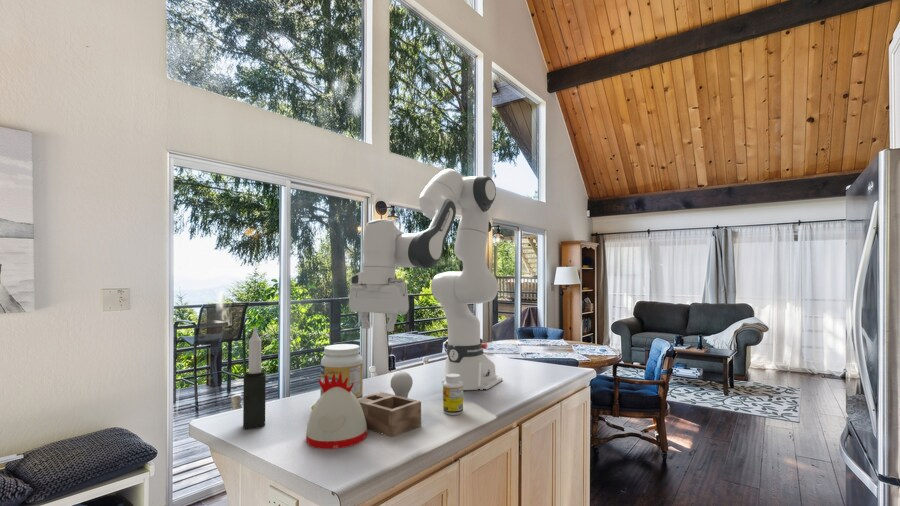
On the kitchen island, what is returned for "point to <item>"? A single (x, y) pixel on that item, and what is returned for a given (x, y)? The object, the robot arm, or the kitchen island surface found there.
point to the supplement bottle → (453, 395)
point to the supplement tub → (344, 366)
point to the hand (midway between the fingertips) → (377, 330)
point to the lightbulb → (401, 383)
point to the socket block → (390, 413)
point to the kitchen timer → (336, 417)
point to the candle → (254, 387)
